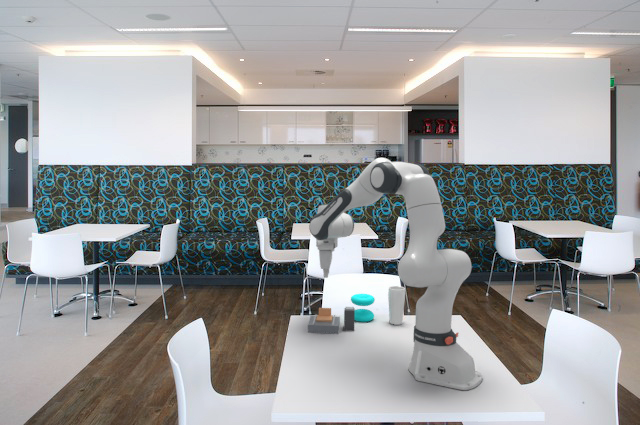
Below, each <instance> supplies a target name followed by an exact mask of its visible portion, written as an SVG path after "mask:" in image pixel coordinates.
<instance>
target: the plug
mask: <svg viewBox="0 0 640 425" xmlns="http://www.w3.org/2000/svg"><path fill="white" fill-rule="evenodd" d="M355 310H356V309H355V307H354V306H345V307H344V308H343V311H344V312H343V313H344V315H343V318H344V319H343V331H344V330H345V332H346V331H347V332H349V331H351V332H354V331H355V320H354V315H355Z"/></svg>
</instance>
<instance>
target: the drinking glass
mask: <svg viewBox="0 0 640 425" xmlns="http://www.w3.org/2000/svg"><path fill="white" fill-rule="evenodd" d="M387 296H388V312H389V315H388V316H389V324H391V325H393V324H394V326H400V325H402V324H403V319H404V318H403V317H404V310H405V299H406V288H405V287H404V286H402V285H401V286H400V285H392V286H389V287H388V294H387Z"/></svg>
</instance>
